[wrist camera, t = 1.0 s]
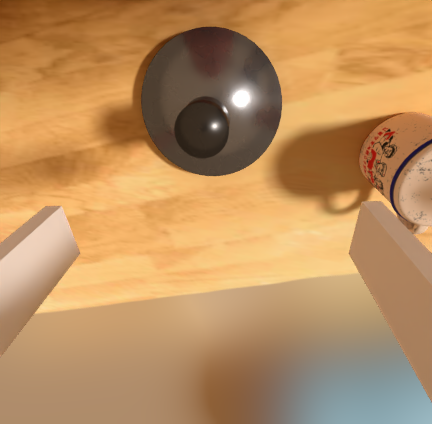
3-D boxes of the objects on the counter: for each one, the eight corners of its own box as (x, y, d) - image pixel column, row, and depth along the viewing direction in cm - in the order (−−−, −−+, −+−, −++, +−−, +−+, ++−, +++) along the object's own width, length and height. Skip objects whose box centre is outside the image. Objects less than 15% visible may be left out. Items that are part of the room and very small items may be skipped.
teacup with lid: (360, 115, 29) (423, 150, 19) (453, 103, 28) (571, 132, 18) (349, 210, 35) (393, 273, 25) (426, 203, 34) (503, 266, 24)
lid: (203, -13, 25) (185, -46, 16) (309, 103, 29) (338, 125, 21) (120, 113, 31) (76, 137, 23) (217, 193, 36) (210, 238, 27)
